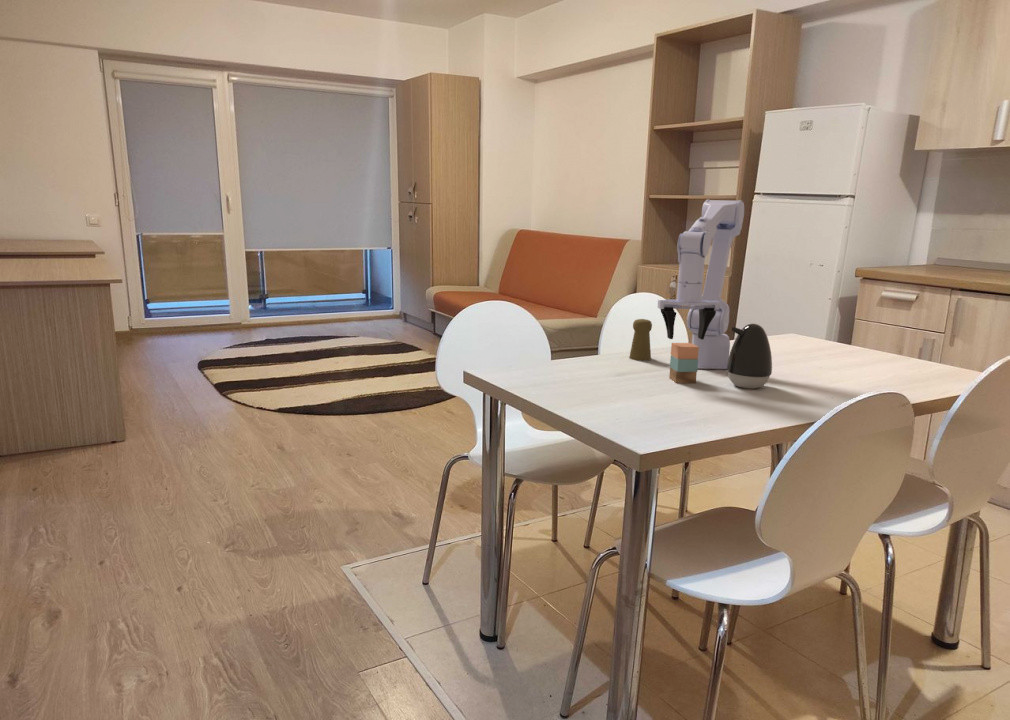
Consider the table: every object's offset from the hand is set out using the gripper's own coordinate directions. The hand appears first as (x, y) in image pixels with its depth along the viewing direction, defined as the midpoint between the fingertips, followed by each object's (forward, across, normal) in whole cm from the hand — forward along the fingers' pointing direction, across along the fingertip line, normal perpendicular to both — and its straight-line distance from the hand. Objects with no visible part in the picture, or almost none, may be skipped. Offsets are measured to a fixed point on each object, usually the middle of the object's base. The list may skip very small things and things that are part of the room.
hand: (685, 338), depth 168 cm
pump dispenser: (+11, +14, -6) cm, 18 cm away
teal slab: (+8, 0, -1) cm, 8 cm away
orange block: (+4, 0, 0) cm, 5 cm away
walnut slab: (+10, 0, -1) cm, 11 cm away
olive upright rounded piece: (+11, -4, +24) cm, 27 cm away
